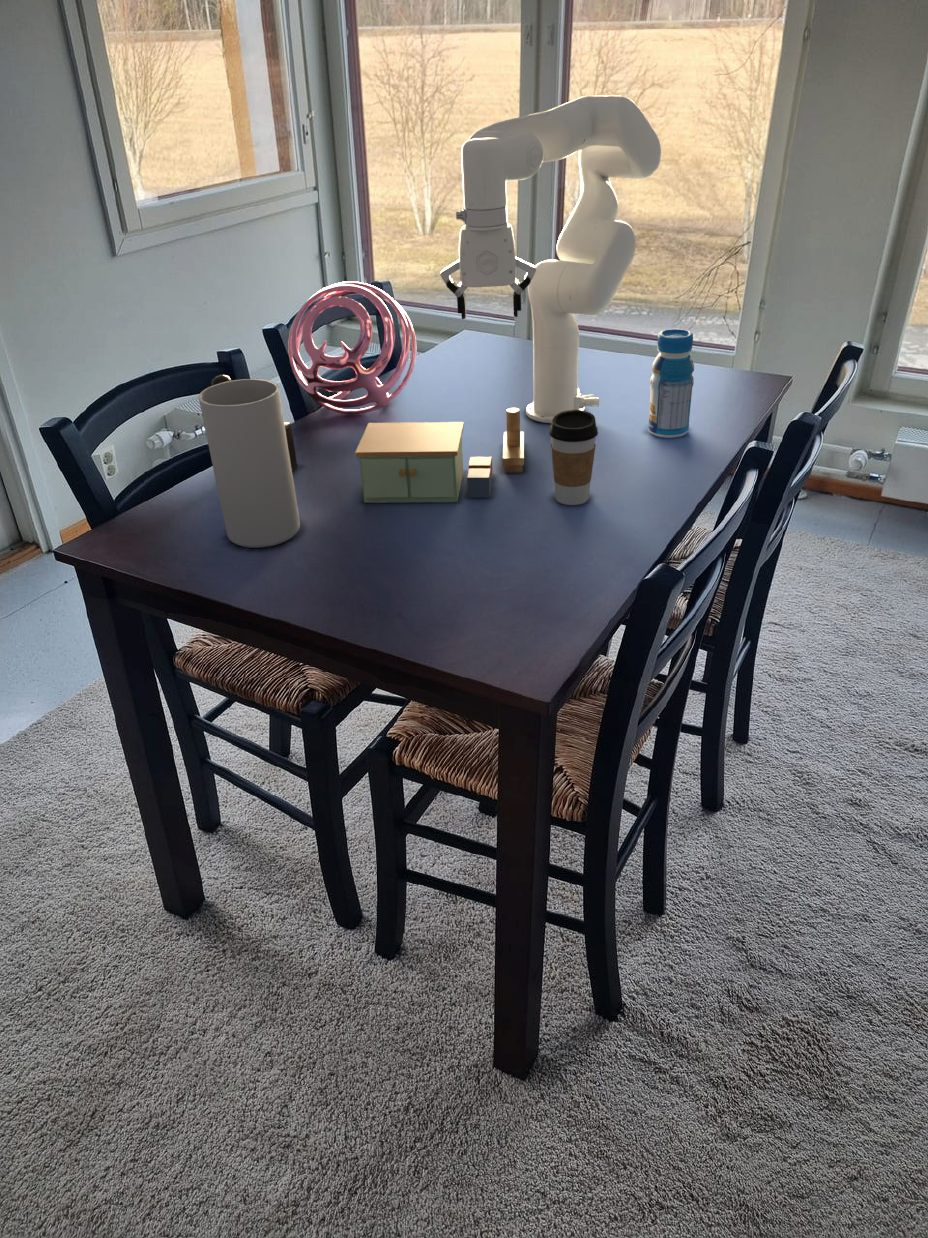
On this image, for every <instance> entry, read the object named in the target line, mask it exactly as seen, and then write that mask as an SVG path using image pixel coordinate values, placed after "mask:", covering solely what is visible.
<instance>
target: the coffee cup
mask: <svg viewBox="0 0 928 1238" xmlns="http://www.w3.org/2000/svg"><path fill="white" fill-rule="evenodd" d="M596 421H597V420H596V417H595V415H594V414H593V413H591V412H589V411H587V410H585V411H582V410H568V411H564V412H561V413H559V414H557V415H556V416H555V417H554V418H553V420H552V423H550V426H549V431H548V435H549V437H550V438H551V443H550V448H551V449H550V453H551V461H552V462H551V463H552V472H553V481H554V496H555V500H556V502H557V503H560V504H562V505H567V506H579V505H582V504H585V503H586V502H587V501H589V497H590V491H591V490H590V489H591V481H592V475H593V467H594V459H595V452H596V447H597V446H596V437H597V436H598V435H599V431H598V430H599V429H598V426H597V422H596Z"/></svg>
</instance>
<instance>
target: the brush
mask: <svg viewBox="0 0 928 1238" xmlns="http://www.w3.org/2000/svg"><path fill="white" fill-rule="evenodd" d="M505 414H506V415H505V416H506V417H505V419H506V431H503V442H502V443H503V444H502V445H503V446H502V466H504V473H505V474H507V473H508V474H510V473H512V474H514V473H517V474H518V473H523V471H524V470H523V466H525V431H521V409H520V408H518V407H509V408H507V409H506V411H505Z"/></svg>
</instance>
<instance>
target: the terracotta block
mask: <svg viewBox="0 0 928 1238" xmlns="http://www.w3.org/2000/svg"><path fill="white" fill-rule="evenodd" d="M469 468H491V482H492V481H493V457H492V456H470V458H469V462H468V469H469Z"/></svg>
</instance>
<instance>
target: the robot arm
mask: <svg viewBox="0 0 928 1238" xmlns="http://www.w3.org/2000/svg"><path fill="white" fill-rule="evenodd" d="M460 151H461V152H460V155H461V157H460V158H461V159H460V160H461V174H462V176H461V177H462V194H463V195H462V196H463V209H462V210H459V211H456V212H455V218H456V221H462V223H464V225H462V226H461V227H460V231H459V240H458V259H457V260H456V261H454V262H452V263H451V264H449V265H448V266H446V267H444V268H443V269H442V270H441V271H440V273H439V275H440V277H441V279H442V281H443V282H444V284H445V286H446V288H447V289H449V291H450V292H452V293H453V294H454V296H455V297H456V303H457V305H456V306H457V314H461V320H465V319H466V318H467V303H466V293H465V291H466V290H467V288H491V287H507V286H509V287H510V288H511V289H512V290H513V292H512V303H513V304H512V305H513V317H514V318H517V317H518V313H519V312H521V311H522V293H523V292H524V291H525V290H526V289H527V294H528V299H529V305H530V310H531V311H530V312H531V317H532V318H531V319H532V390H533V391H532V398H533V399H532V402H531V403H529V404H528V405H527V406H526V408H525V414H526V416H527V417H528V418H529V419H531V420H533V421H536V422H539V423H544V424H552V420H553V418H554V417H555V416H556V415H557V414H559V413H561V412H564V411H568V410H582V411H586V409H585V407H592V408H597V407H598V408H599V407H600V397H594V394H582V393H580V388H579V357H580V355H579V354H580V329H579V324H578V322H577V320H576V317H575V315H574V314H576V315H582V316H599V315H601V314H603V313H604V312H605V311H606V310H607V308H608V307H609V306H610V305H611V303H612V301H613V299H614V297H615V296H616V293H617V291H618V290H619V287H620V286H621V284H622V282H623V280H624V278H625V276H626V274H627V272H628V270H629V269H630V267H631V264H632V262H633V259H634V256H635V252H636V243H637V239H636V233H635V230H634V229H633V227H632V226H631V225H630V224H629V223H627V222H626V221H623V220H620V219H619V220H618V219H617V216H618V214H619V209H620V205H619V200H618V197H617V195H616V192H615V190H614V188H613V186H612V183H611V180H610V179H611V178H616V179H631V180H632V179H633V180H644V179H648V178H650V177H651V176H653V175H654V174H655V173H656V171H657V170H658V168H659V166H660V163H661V158H662V147H661V142H660V139H659V136H658V135H657V132H656V130H655V129H654V128H653V126H652V124H651V123H650V122H649V120H648V118H647V117H646V115H645V114H644V112H643V111H642V109H641V108H640V107H639V106H638V105H637V103H635V102H634V100H632V99H631V98H629V97H627V96H623V95H584V96H580V97H577V98H575V99H573V100H569V101H568V102H565V103H563V104H561V105H558V106H555V107H553V108H551V109H548V110H545V111H539V112H535V113H530V114H527V115H524V116H520V117H514V118H510V119H505V120H502V121H501V120H500V121H497V122H494V123H492V124H489V125H486V126H484V127H482V128H479V129H477V130H475V132H473V133H472V134H471V136H469V138H468V139H467V140H466V141H464V143H463V144H462V146H461V149H460ZM577 152H578V168H579V179H580V180H579V181H580V195H579V198H578V200H577V202H576V205H575V207H574V208H573V210H572V212H571V213H570V215H569V217H568V219H567V221H566V223H565V225H564V227H563V229H562V231H561V233H560V234H559V236H558V240H557V243H556V250H555V251H556V255H557V257H558V259H545V260H543V261H540V262H538V263H537V264H535V265H534V264H532V263H530V262H527V261H525V260H523V259H522V258H519V257H517V256H516V245H515V236H514V231H513V230H514V229H513V227H512V224H511V223H510V222H508V195H507V193H508V191H507V182H509V181H524V180H528V179H530V178H532V177H534V176H535V175H536V174H537V173H538V172H539V171H540V169H541V167H542V165H543V163H550V162H555V161H560V160H563V159H565V158H567V157H569V156H571V155H573V154H576V153H577ZM517 268H519V269H521V270H523V271H525V272H526V273H525V275H524V277H523V278H522V279H521V280H520V281H519V279H517ZM457 271H459V283H458V284H457V283H456V282H455V281H454V280H453V278H451V275H452V274H454V273H456V272H457Z"/></svg>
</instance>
